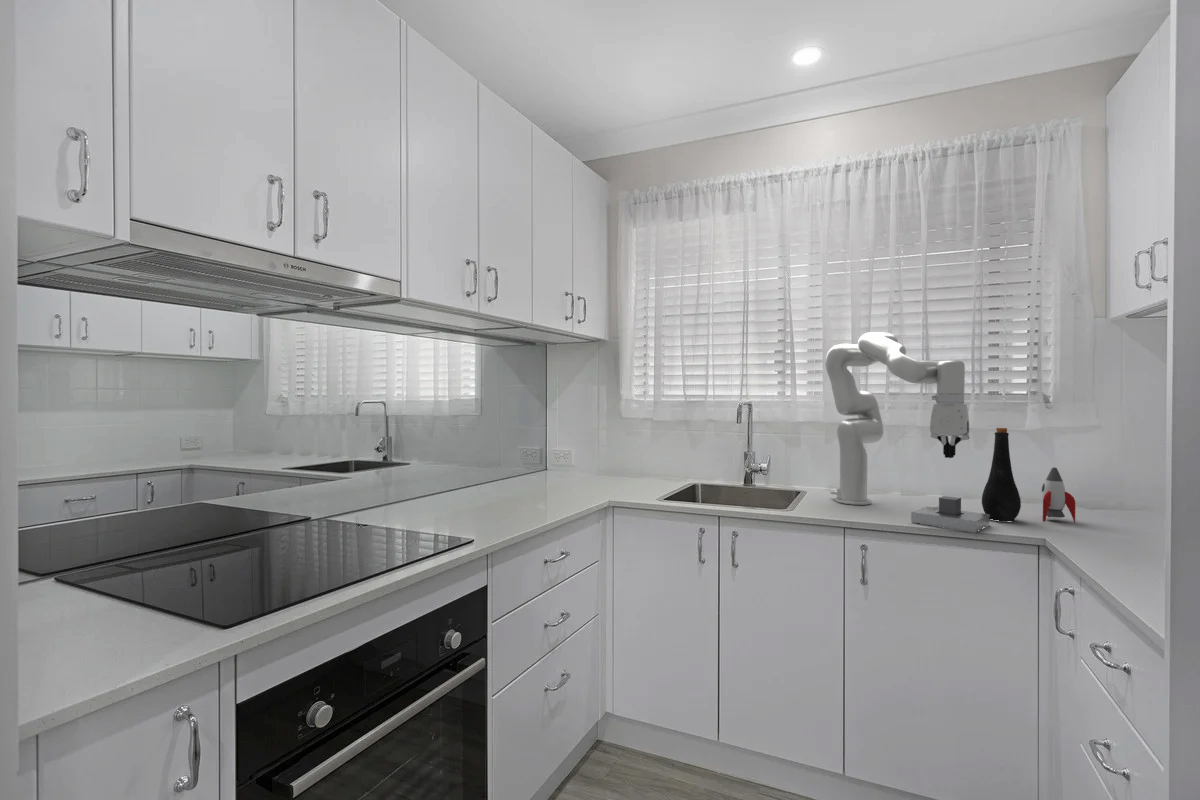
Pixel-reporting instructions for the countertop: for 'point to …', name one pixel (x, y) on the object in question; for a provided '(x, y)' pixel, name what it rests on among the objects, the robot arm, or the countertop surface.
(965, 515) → the socket plate
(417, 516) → the countertop surface
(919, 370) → the robot arm
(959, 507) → the plug
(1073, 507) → the toy
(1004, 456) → the bottle
